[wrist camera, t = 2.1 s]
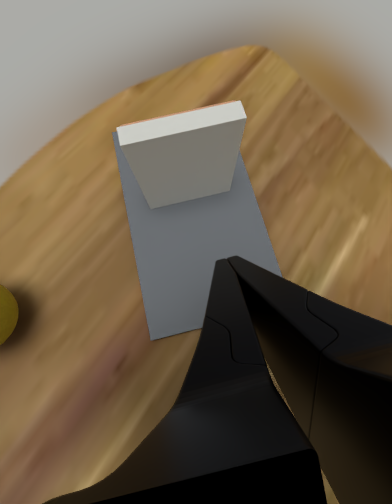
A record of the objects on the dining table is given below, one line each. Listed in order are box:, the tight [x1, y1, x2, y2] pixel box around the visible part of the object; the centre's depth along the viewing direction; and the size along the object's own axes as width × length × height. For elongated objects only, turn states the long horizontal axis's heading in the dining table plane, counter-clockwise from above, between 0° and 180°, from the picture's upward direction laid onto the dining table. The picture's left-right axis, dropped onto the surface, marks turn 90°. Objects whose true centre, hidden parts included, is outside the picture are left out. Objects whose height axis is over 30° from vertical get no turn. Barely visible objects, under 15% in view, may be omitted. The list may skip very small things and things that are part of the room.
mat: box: [112, 132, 283, 341], centre depth 21 cm, size 19×11×1 cm, turn 14°
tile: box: [117, 100, 247, 209], centre depth 17 cm, size 2×7×8 cm, turn 104°
